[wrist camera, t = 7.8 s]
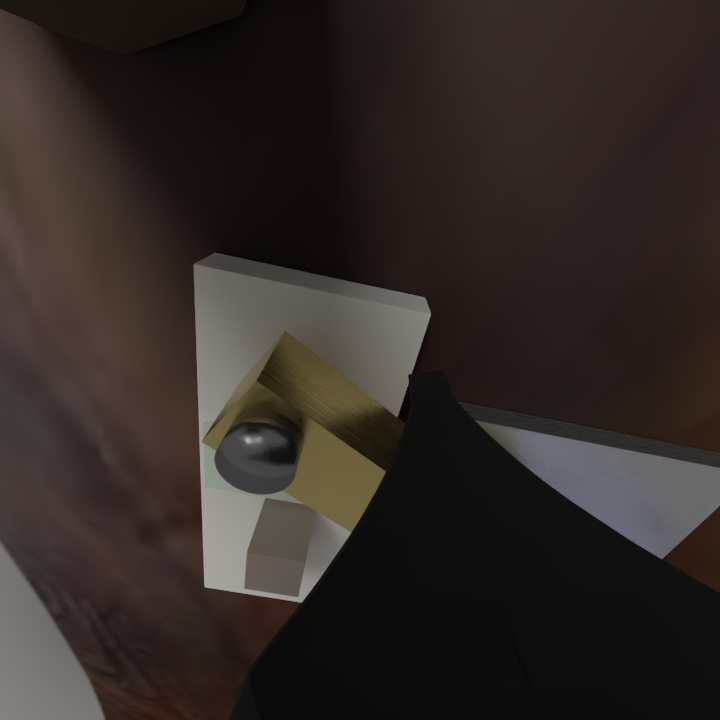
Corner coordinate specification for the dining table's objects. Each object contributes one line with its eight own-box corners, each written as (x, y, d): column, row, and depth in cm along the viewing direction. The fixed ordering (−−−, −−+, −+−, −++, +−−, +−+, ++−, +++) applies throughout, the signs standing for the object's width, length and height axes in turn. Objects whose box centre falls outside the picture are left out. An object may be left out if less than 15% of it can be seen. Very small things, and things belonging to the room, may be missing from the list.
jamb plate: (624, 559, 17) (654, 608, 15) (379, 516, 16) (379, 562, 14) (728, 454, 13) (784, 500, 11) (423, 394, 12) (431, 432, 11)
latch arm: (301, 311, 9) (264, 380, 6) (572, 531, 12) (630, 640, 9) (226, 397, 10) (167, 486, 7) (489, 572, 14) (518, 677, 11)
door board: (338, 578, 18) (330, 662, 15) (216, 558, 18) (182, 641, 15) (425, 297, 11) (444, 351, 8) (215, 252, 10) (144, 289, 7)
